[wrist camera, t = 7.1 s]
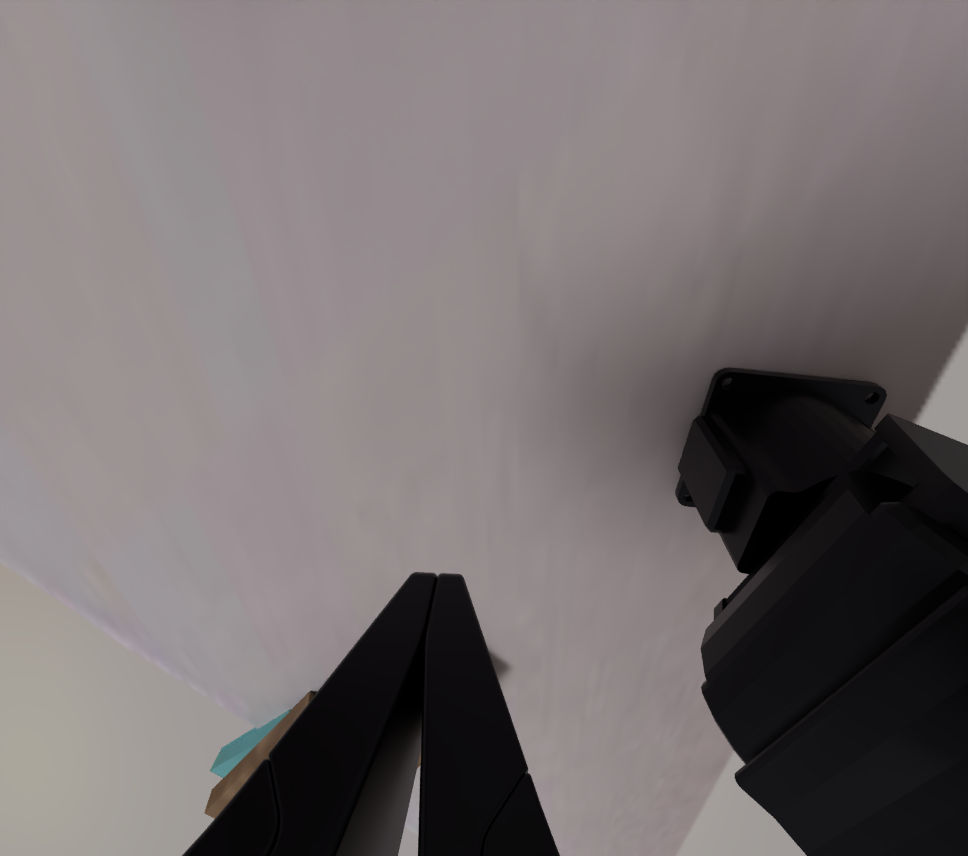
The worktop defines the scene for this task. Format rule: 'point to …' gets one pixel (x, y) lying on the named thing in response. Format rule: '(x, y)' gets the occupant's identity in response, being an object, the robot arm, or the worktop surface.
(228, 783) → the domino
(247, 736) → the domino
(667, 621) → the worktop surface
